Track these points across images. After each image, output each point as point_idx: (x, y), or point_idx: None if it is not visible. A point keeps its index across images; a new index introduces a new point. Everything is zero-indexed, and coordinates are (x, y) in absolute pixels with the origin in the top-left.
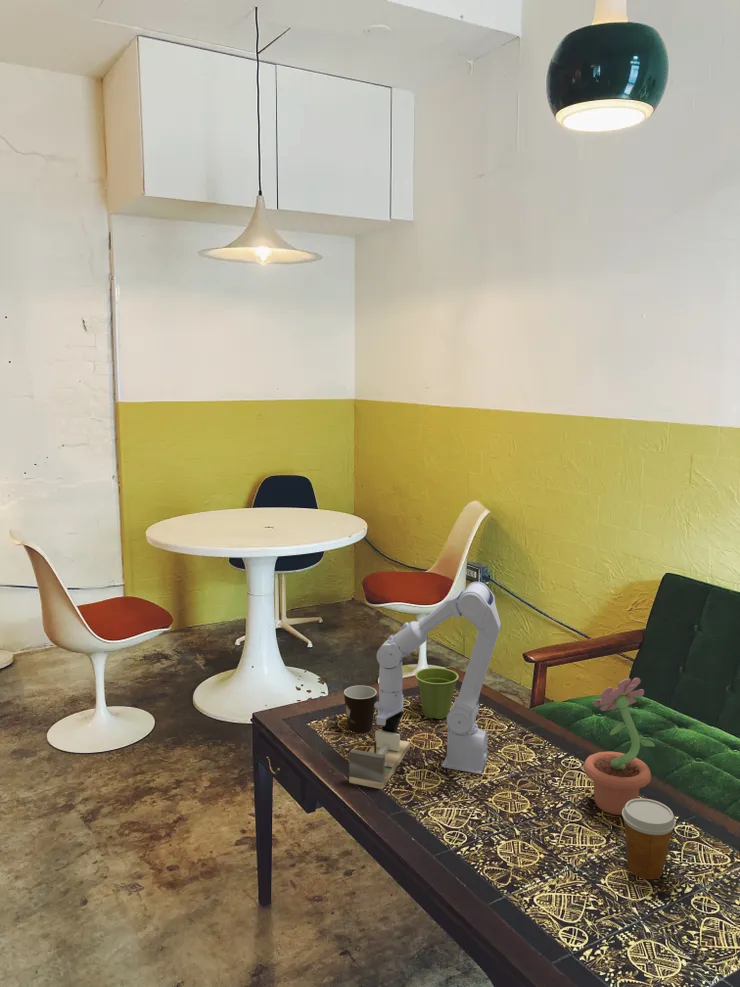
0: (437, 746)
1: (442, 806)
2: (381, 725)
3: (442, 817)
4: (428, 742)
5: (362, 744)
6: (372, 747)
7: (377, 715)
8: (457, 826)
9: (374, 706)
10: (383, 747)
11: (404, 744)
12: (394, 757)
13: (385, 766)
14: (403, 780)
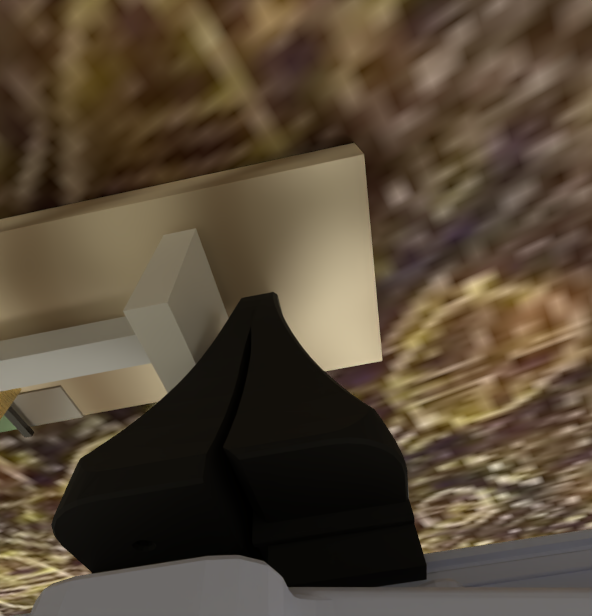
0: (441, 418)
1: (52, 563)
2: (167, 394)
3: (5, 579)
4: (469, 377)
5: (238, 18)
6: (158, 205)
7: (61, 507)
8: (10, 603)
9: (37, 603)
10: (124, 348)
11: (333, 353)
12: (154, 381)
13: (6, 411)
14: (69, 444)
